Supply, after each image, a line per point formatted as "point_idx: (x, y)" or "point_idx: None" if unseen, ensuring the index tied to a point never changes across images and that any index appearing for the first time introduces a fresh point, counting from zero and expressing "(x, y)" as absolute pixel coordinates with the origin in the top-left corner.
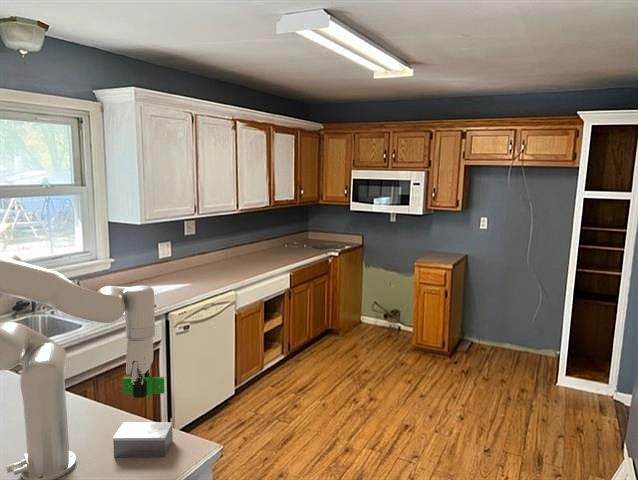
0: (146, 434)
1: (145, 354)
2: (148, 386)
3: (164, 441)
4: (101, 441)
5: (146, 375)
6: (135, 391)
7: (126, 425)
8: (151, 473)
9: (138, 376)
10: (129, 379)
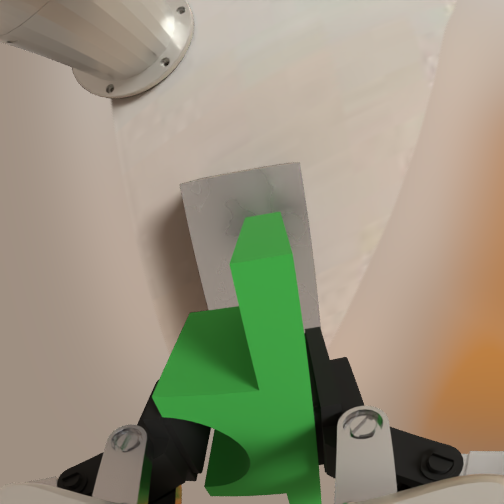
0: (227, 297)
1: None
2: (212, 468)
3: None
4: (278, 88)
5: (326, 467)
6: (149, 397)
7: (276, 187)
8: (160, 316)
9: (326, 407)
10: (250, 342)
